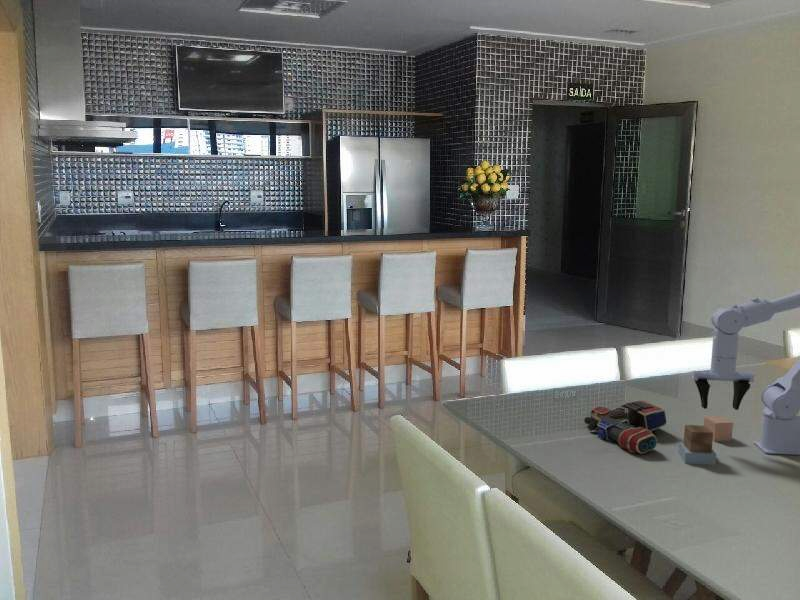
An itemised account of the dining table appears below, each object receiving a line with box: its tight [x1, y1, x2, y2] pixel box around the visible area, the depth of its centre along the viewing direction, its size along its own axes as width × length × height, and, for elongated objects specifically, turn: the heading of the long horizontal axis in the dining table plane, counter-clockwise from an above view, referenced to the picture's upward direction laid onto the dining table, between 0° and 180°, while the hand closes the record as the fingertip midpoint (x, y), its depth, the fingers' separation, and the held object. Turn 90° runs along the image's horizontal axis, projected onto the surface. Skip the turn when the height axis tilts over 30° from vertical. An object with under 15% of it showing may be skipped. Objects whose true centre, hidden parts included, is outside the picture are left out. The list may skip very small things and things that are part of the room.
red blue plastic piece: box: [583, 399, 668, 455], centre depth 188 cm, size 8×25×20 cm
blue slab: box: [678, 442, 718, 466], centre depth 173 cm, size 7×7×3 cm
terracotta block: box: [703, 415, 734, 442], centre depth 188 cm, size 5×5×5 cm
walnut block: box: [683, 424, 714, 453], centre depth 173 cm, size 5×5×5 cm
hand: (719, 408), depth 181 cm, fingers open, 7 cm apart
